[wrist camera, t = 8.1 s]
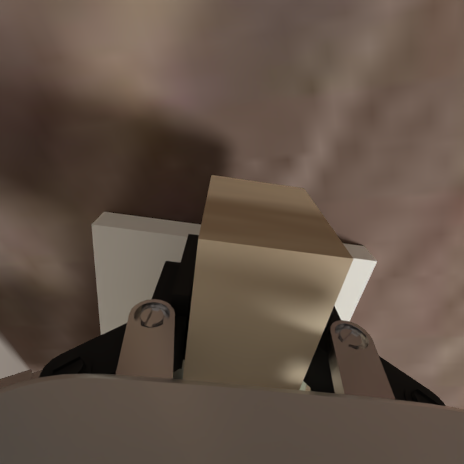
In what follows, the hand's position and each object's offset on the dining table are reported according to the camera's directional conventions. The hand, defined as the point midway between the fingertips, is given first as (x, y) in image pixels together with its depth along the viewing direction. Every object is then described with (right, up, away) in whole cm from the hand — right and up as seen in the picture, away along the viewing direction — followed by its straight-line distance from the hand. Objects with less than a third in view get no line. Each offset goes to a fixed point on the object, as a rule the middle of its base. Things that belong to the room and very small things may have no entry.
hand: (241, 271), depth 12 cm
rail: (-1, -3, +2) cm, 4 cm away
